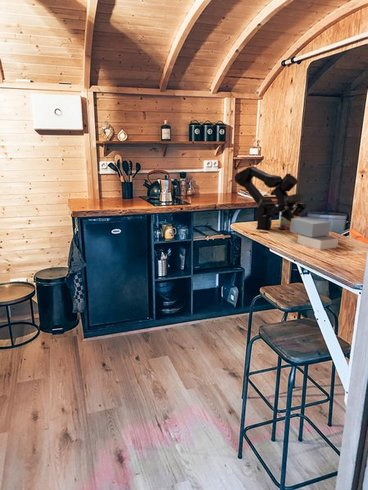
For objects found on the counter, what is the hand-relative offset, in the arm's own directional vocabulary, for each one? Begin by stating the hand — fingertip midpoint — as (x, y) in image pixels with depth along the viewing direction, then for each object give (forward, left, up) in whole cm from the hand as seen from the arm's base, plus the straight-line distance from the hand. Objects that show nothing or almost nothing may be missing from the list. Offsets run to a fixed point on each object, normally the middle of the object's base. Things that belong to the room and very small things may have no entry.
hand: (297, 223), depth 182 cm
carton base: (+11, -8, -7) cm, 15 cm away
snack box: (-10, +29, -7) cm, 32 cm away
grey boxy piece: (+4, -3, -3) cm, 6 cm away
